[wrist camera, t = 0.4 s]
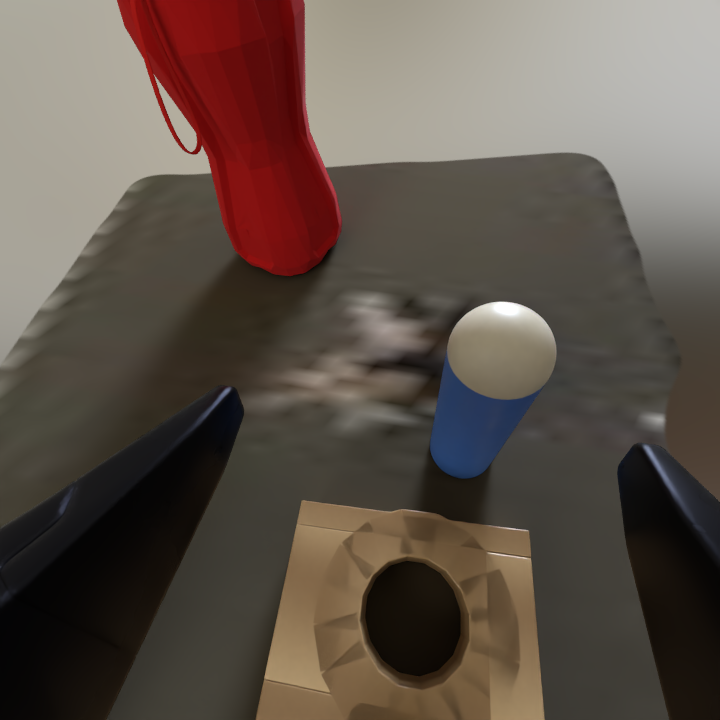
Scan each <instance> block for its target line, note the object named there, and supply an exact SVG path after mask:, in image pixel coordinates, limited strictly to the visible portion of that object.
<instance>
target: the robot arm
mask: <svg viewBox="0 0 720 720" xmlns="http://www.w3.org/2000/svg"><path fill="white" fill-rule="evenodd" d="M243 416H244V408H243V405H242V402H241V399H240V397H239V394H238V392H237V389H236V388H235V387H232V386H225V385H219V386H217V387H215V388H213V389H212V390H210V391H209V392H207V393H206V394H204V395H203V396H201V397H200V398H198V399H197V400H195V401H194V402H192V403H191V404H189V405H188V406H186V407H185V408H183V409H182V410H180V411H179V412H177V413H176V414H174V415H173V416H171V417H170V418H168V419H167V420H165V421H164V422H162V423H161V424H159V425H158V426H156V427H155V428H153V429H152V430H150V431H149V432H147V433H146V434H144V435H143V436H141V437H140V438H138V439H137V440H135V441H134V442H132V443H131V444H129V445H128V446H126V447H125V448H123V449H122V450H120V451H118V452H117V453H115V454H114V455H112V456H111V457H109V458H108V459H106V460H105V461H103V462H102V463H100V464H99V465H97V466H96V467H94V468H93V469H91V470H90V471H88V472H87V473H85V474H84V475H82V476H81V477H79V478H78V479H77V481H73V482H72V483H70V484H69V485H67V486H66V487H64V488H63V489H61V490H60V491H58V492H57V493H55V494H53V495H52V496H50V497H49V498H47V499H46V500H44V501H43V502H41V503H39V504H38V505H36V506H35V507H33V508H32V509H30V510H28V511H27V512H25V513H23V514H22V515H20V516H18V517H17V518H15V519H14V520H12V521H10V522H9V523H7V524H5V525H4V526H2V527H0V720H106V719H107V717H108V715H109V713H110V711H111V709H112V706H113V704H114V702H115V700H116V698H117V696H118V694H119V692H120V690H121V688H122V685H123V683H124V681H125V679H126V677H127V675H128V673H129V671H130V669H131V667H132V664H133V662H134V660H135V658H136V656H135V655H137V653H138V651H139V649H140V647H141V645H142V643H143V641H144V639H145V637H146V634H147V632H148V630H149V628H150V626H151V624H152V622H153V620H154V618H155V616H156V613H157V611H158V609H159V607H160V605H161V603H162V601H163V599H164V597H165V595H166V592H167V590H168V588H169V586H170V584H171V582H172V580H173V578H174V576H175V573H176V571H177V569H178V567H179V565H180V563H181V561H182V559H183V557H184V555H185V552H186V550H187V548H188V546H189V544H190V542H191V540H192V538H193V536H194V534H195V531H196V529H197V527H198V525H199V523H200V521H201V519H202V517H203V515H204V513H205V510H206V508H207V506H208V504H209V502H210V500H211V498H212V496H213V494H214V492H215V489H216V487H217V485H218V483H219V481H220V479H221V477H222V474H223V472H224V470H225V467H226V465H227V462H228V459H229V456H230V453H231V451H232V448H233V445H234V442H235V439H236V436H237V433H238V431H239V428H240V425H241V422H242V419H243ZM617 475H618V483H619V492H620V500H621V508H622V516H623V524H624V532H625V539H626V545H627V550H628V554H629V559H630V563H631V567H632V571H633V575H634V579H635V583H636V587H637V591H638V595H639V599H640V603H641V607H642V611H643V615H644V619H645V623H646V627H647V631H648V635H649V639H650V643H651V647H652V651H653V655H654V659H655V663H656V667H657V671H658V675H659V679H660V683H661V687H662V691H663V695H664V699H665V703H666V708H667V712H668V716H669V720H720V502H719V501H718V500H717V499H716V498H715V497H714V496H713V495H712V494H711V493H710V492H709V491H708V490H707V489H706V488H704V486H702V485H701V484H700V483H699V482H698V481H697V480H696V479H695V478H694V477H693V476H692V475H691V474H690V473H689V472H688V471H687V470H686V469H685V468H683V466H681V464H680V463H678V462H677V461H676V460H675V459H674V458H673V457H672V456H671V455H670V454H669V453H668V452H667V451H666V450H665V449H664V448H662V447H661V446H658V445H653V444H646V443H637V444H634V445H633V446H632V448H631V449H630V450H629V452H628V453H627V454H626V456H625V457H624V458H623V460H622V461H621V462H620V464H619V466H618V471H617Z"/></svg>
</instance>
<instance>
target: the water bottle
mask: <svg viewBox="0 0 720 720" xmlns="http://www.w3.org/2000/svg"><path fill="white" fill-rule="evenodd" d="M117 2H118V6H119V9H120V12H121V15H122V19H123V22H124V26H125V28H126V29H127V31H128V33H129V34H130V36H131V38H132V40H133V41H134V43H135V44H136V46H137V48H138V50H139V51H140V53H141V55H142V57H143V58H144V61H145V64H146V68H147V70H148V74H149V77H150V80H151V83H152V86H153V89H154V92H155V95H156V98H157V100H158V103H159V106H160V108H161V111H162V114H163V116H164V118H165V121H166V123H167V125H168V127H169V129H170V131H171V133H172V135H173V137H174V139H175V140H176V142H177V143H178V145H179V146H180V147H181V148H182V149H183V150H184V151H185V152H187V153H189V154H198V152H199V151H200V150H201V146H203V148H204V150H205V152H206V154H207V156H208V159H209V163H210V168H211V172H212V177H213V181H214V185H215V190H216V194H217V198H218V203H219V207H220V211H221V216H222V220H223V224H224V226H225V228H226V231H227V233H228V235H229V238H230V240H231V242H232V245H233V247H234V249H235V251H236V252H237V253H238V254H239V255H240V256H241V257H242V258H244V259H245V260H246V261H247V262H248V263H250V264H251V265H252V266H256V267H261V268H262V269H264V270H266V271H268V272H270V273H272V274H276V275H286V276H292V275H297V274H302V273H305V272H307V271H309V270H310V269H311V268H313V267H314V266H316V265H317V264H318V263H320V262H321V260H322V259H323V257H324V256H325V254H326V253H327V251H328V250H329V249H330V248H331V247H333V246H334V245H335V244H336V242H337V240H338V237H339V235H340V233H341V227H342V219H341V214H340V209H339V205H338V200H337V196H336V192H335V190H334V187H333V185H332V183H331V180H330V178H329V176H328V173H327V171H326V168H325V166H324V164H323V161H322V159H321V157H320V154H319V152H318V149H317V147H316V145H315V142H314V140H313V137H312V135H311V133H310V129H309V123H308V116H307V110H306V103H305V7H304V6H305V4H304V0H117ZM154 75H155V76H156V77H157V79H158V80H159V82H160V83H161V85H162V86H163V87H164V89H165V90H166V91H167V93H168V94H169V96H170V97H171V98H172V100H173V101H174V102H175V104H176V105H177V107H178V108H179V109H180V111H181V112H182V114H183V115H184V117H185V118H186V119H187V121H188V122H189V123H190V125H191V126H192V127H193V129H194V130H195V132H196V134H197V135H196V136H197V146H196V149H195V150H194V151H193V152H189V151H188V150H187V149H186V148H185V147H184V145H183V144H182V143H181V141H180V139H179V138H178V136H177V135H176V132H175V130H174V128H173V126H172V124H171V121H170V119H169V116H168V114H167V111H166V109H165V106H164V104H163V100H162V98H161V96H160V93H159V89H158V86H157V83H156V80H155V77H154Z"/></svg>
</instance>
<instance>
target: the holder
mask: <svg viewBox="0 0 720 720" xmlns="http://www.w3.org/2000/svg"><path fill="white" fill-rule="evenodd" d="M530 558H531V548H530V536H529V531H528V530H520V529H513V528H505V527H498V526H490V525H483V524H475V523H468V522H460V521H453V520H448V519H446V518H445V517H443V516H441V515H439V514H438V515H437V513H430V512H422V511H415V510H407V509H400V510H396V511H393V512H385V511H378V510H370V509H363V508H355V507H348V506H340V505H333V504H325V503H318V502H310V501H302V502H301V507H300V511H299V516H298V521H297V525H296V530H295V535H294V540H293V544H292V549H291V554H290V559H289V563H288V568H287V573H286V577H285V582H284V587H283V592H282V596H281V601H280V606H279V611H278V615H277V620H276V625H275V629H274V634H273V639H272V644H271V648H270V653H269V658H268V663H267V667H266V672H265V677H264V679H265V680H264V682H263V686H262V691H261V696H260V701H259V705H258V710H257V715H256V720H545V719H544V707H543V695H542V683H541V671H540V659H539V647H538V635H537V623H536V611H535V599H534V587H533V575H532V563H531V559H530ZM404 561H413V562H419V563H425V564H426V565H428V566H429V567H431V568H433V569H434V570H436V571H437V572H439V573H441V575H442V576H443V577H444V578H445V580H446V581H447V582H448V584H449V585H450V586H451V588H452V589H453V590H454V593H455V596H456V599H457V602H458V605H459V608H460V611H461V635H460V638H459V640H458V643H457V646H456V648H455V651H454V654H453V656H452V657H451V658H450V659H449V660H448V661H447V662H446V663H445V664H444V665H443V666H442V667H441V668H440V669H439V670H438V671H435V672H432V673H429V674H426V675H423V676H414V675H409V674H404V673H399V672H398V671H396V670H395V669H394V668H392V667H391V666H390V665H388V664H387V663H386V662H384V661H383V660H382V659H381V657H380V656H379V654H378V652H377V651H376V649H375V647H374V646H373V644H372V642H371V641H370V638H369V633H368V629H367V624H366V619H365V614H366V605H367V596H368V594H369V592H370V590H371V588H372V586H373V584H374V582H375V580H376V578H377V577H378V576H379V575H380V574H381V573H382V572H383V571H385V570H386V569H387V568H388V567H389V566H391V565H394V564H397V563H400V562H404Z"/></svg>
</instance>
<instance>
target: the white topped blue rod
mask: <svg viewBox="0 0 720 720" xmlns="http://www.w3.org/2000/svg"><path fill="white" fill-rule="evenodd" d="M555 362H556V343H555V339H554V336H553V333H552V331H551V329H550V328H549V326H548V325H547V323H546V322H545V321H544V319H543V318H542V317H541V316H539V315H538V314H537V313H536V312H534V311H533V310H531V309H529V308H527V307H525V306H523V305H520V304H516V303H511V302H492V303H488V304H485V305H482V306H479V307H477V308H475V309H473V310H472V311H470V312H469V313H467V314H466V315H465V316H464V317H463V318H462V319H461V320H460V321H459V322H458V323H457V325H456V326H455V328H454V329H453V331H452V333H451V335H450V338H449V342H448V346H447V352H446V357H445V363H444V368H443V374H442V379H441V385H440V390H439V396H438V401H437V407H436V412H435V418H434V424H433V429H432V435H431V440H430V451H431V455H432V457H433V459H434V461H435V463H436V464H437V465H438V467H439V468H440V469H441V470H443V471H444V472H445V473H447V474H449V475H451V476H453V477H457V478H465V479H466V478H473V477H476V476H478V475H480V474H482V473H483V472H484V471H485V470H486V469H487V468H488V466H489V465H490V464H491V462H492V461H493V459H494V458H495V456H496V455H497V453H498V452H499V451H500V449H501V448H502V446H503V445H504V443H505V442H506V440H507V439H508V437H509V436H510V435H511V433H512V432H513V430H514V429H515V427H516V426H517V424H518V423H519V421H520V420H521V419H522V417H523V416H524V414H525V413H526V411H527V410H528V408H529V407H530V405H531V404H532V403H533V401H534V400H535V398H536V397H537V395H538V394H539V392H540V391H541V390H542V388H543V387H544V385H545V384H546V382H547V381H548V379H549V378H550V376H551V374H552V372H553V369H554V366H555Z"/></svg>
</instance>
